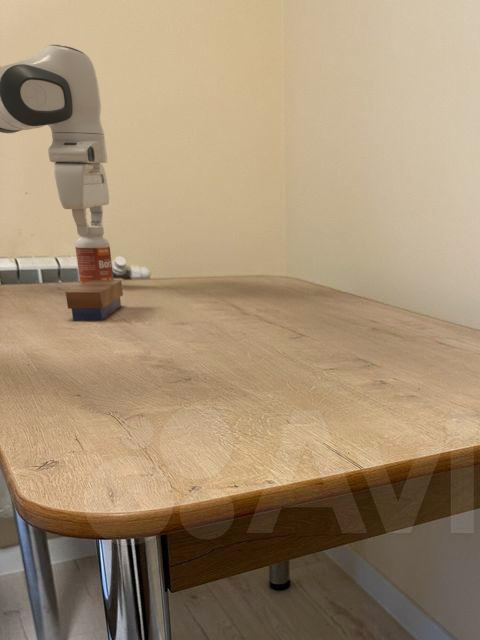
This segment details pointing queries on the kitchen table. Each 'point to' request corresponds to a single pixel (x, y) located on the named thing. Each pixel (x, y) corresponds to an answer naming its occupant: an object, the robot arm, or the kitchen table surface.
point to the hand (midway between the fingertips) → (91, 233)
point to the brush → (94, 299)
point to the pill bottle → (94, 256)
